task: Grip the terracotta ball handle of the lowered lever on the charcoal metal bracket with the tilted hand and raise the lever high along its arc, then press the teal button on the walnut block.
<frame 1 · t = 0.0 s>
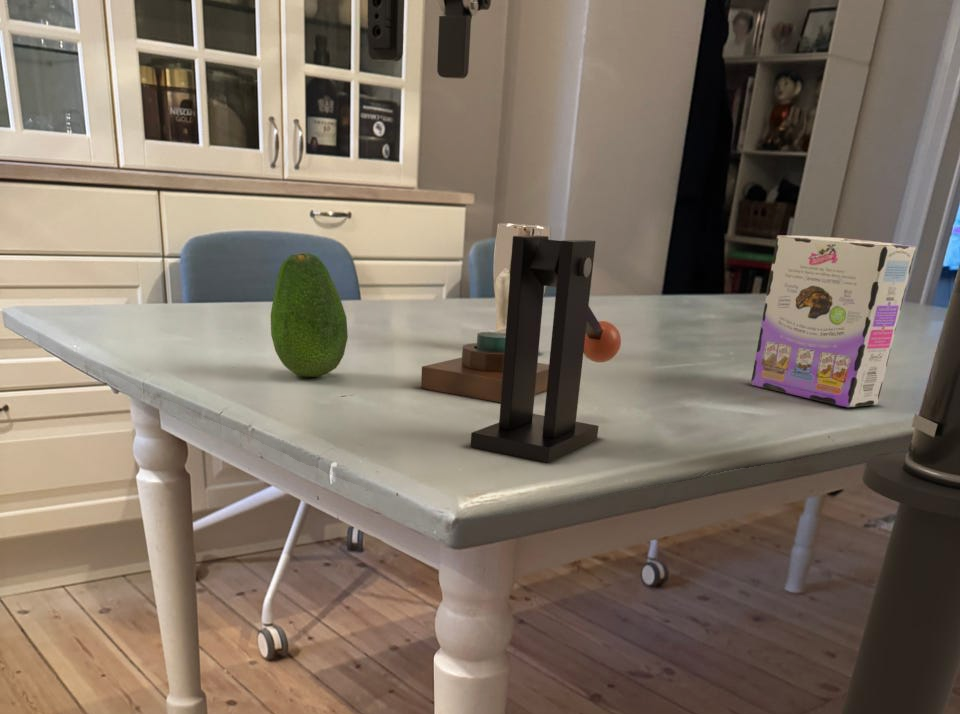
hand: (420, 69, 63), 26 cm above the table, tool pointing down, fingers open, 8 cm apart
bracket: (535, 443, 78), on the table
button: (494, 343, 96), point 4 cm above the table, slide at 0.1 cm
beer glass: (514, 353, 120), on the table
lever: (579, 307, 78), point 10 cm above the table, hinge at -30.0°
candy box: (810, 396, 106), on the table
avocado: (310, 379, 97), on the table
button block: (491, 387, 98), on the table
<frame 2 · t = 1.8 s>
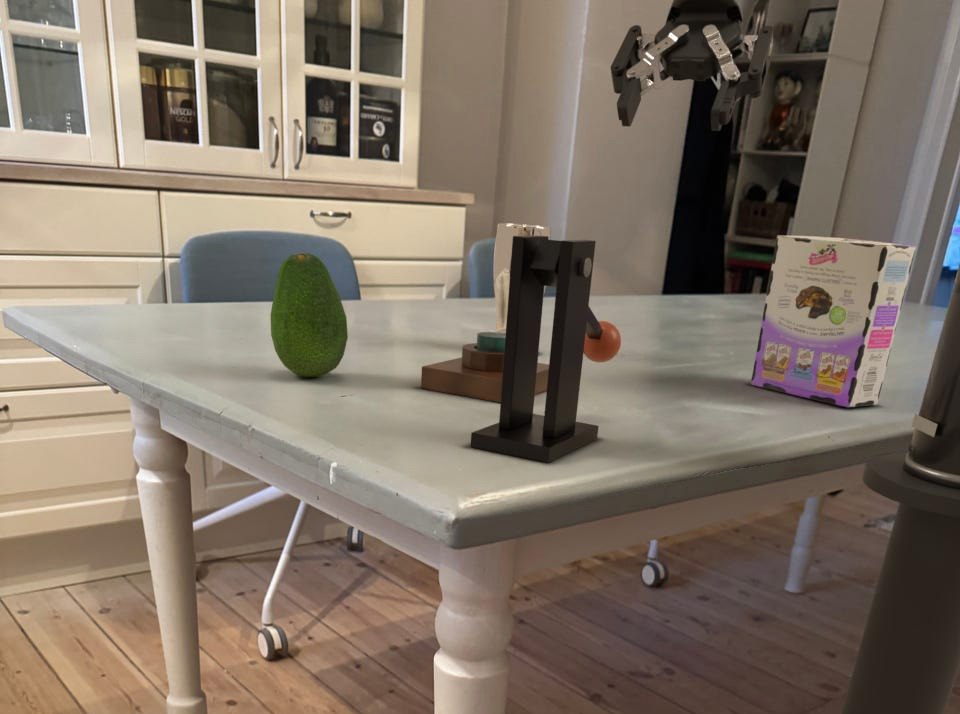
hand: (669, 120, 85), 25 cm above the table, tool tilted 45°, fingers open, 8 cm apart
nothing on the table moved.
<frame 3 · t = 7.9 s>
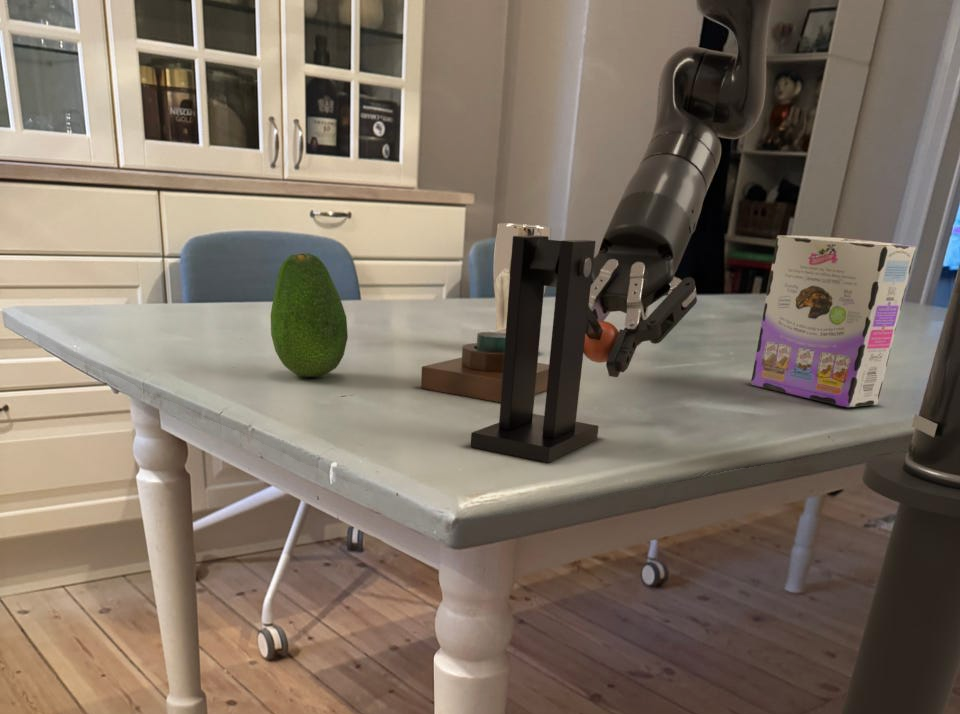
hand: (590, 367, 84), 5 cm above the table, tool tilted 45°, fingers closed on lever, 3 cm apart
lever: (579, 307, 78), point 10 cm above the table, hinge at -30.1°, touching gripper
everything else where it was.
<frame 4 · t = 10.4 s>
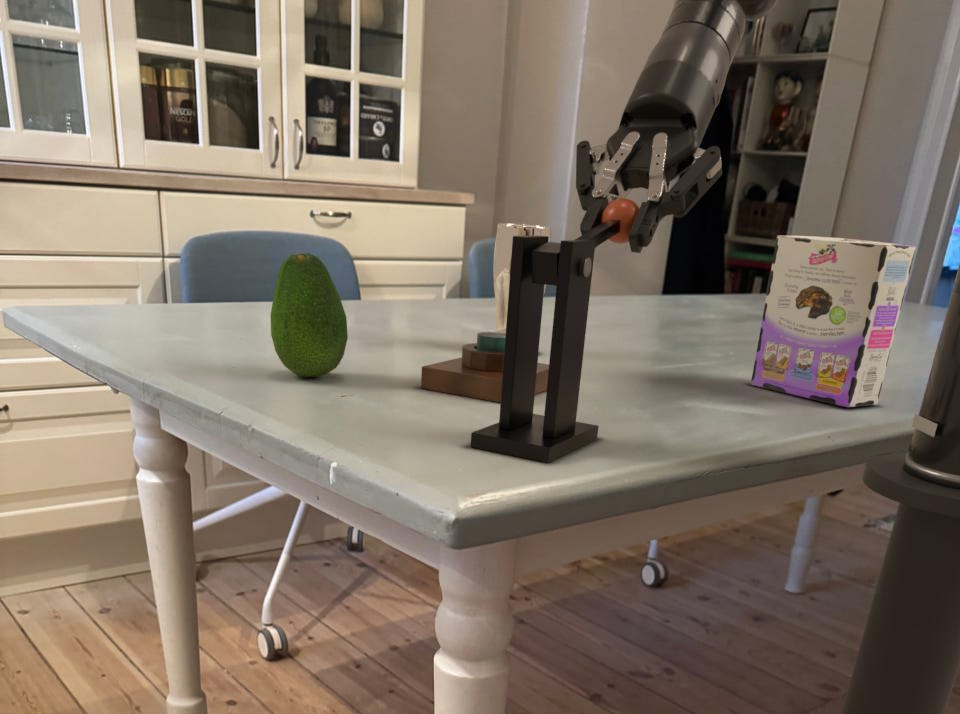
hand: (611, 242, 80), 15 cm above the table, tool tilted 45°, fingers closed on lever, 3 cm apart
lever: (590, 240, 76), point 16 cm above the table, hinge at 12.6°, touching gripper
everything else where it was.
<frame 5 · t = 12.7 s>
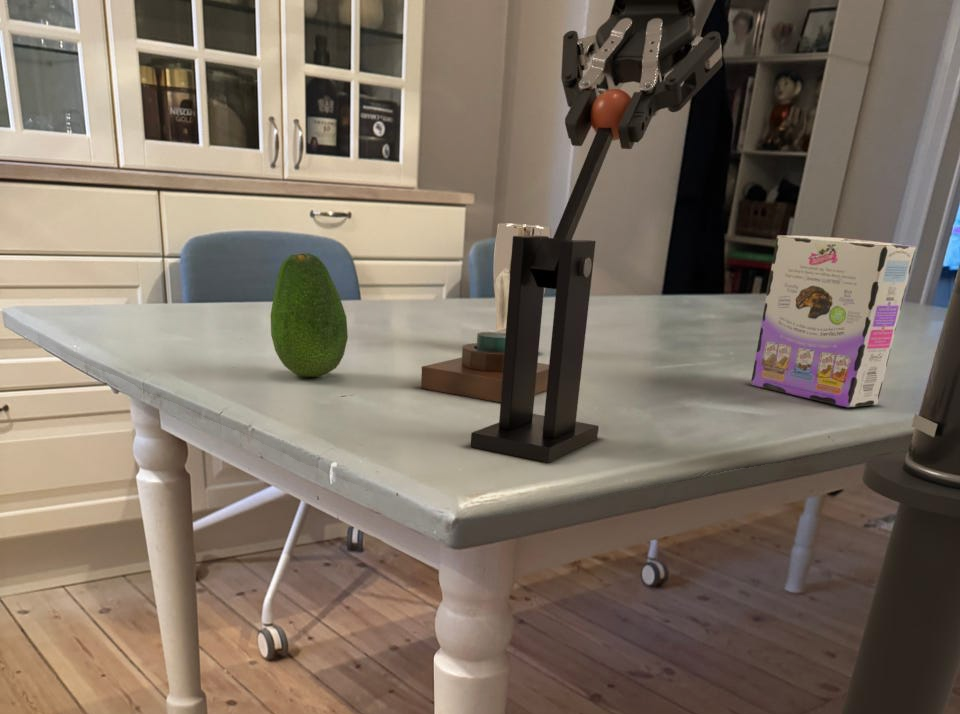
hand: (599, 137, 73), 23 cm above the table, tool tilted 45°, fingers closed on lever, 3 cm apart
lever: (584, 186, 73), point 20 cm above the table, hinge at 50.2°, touching gripper
everything else where it was.
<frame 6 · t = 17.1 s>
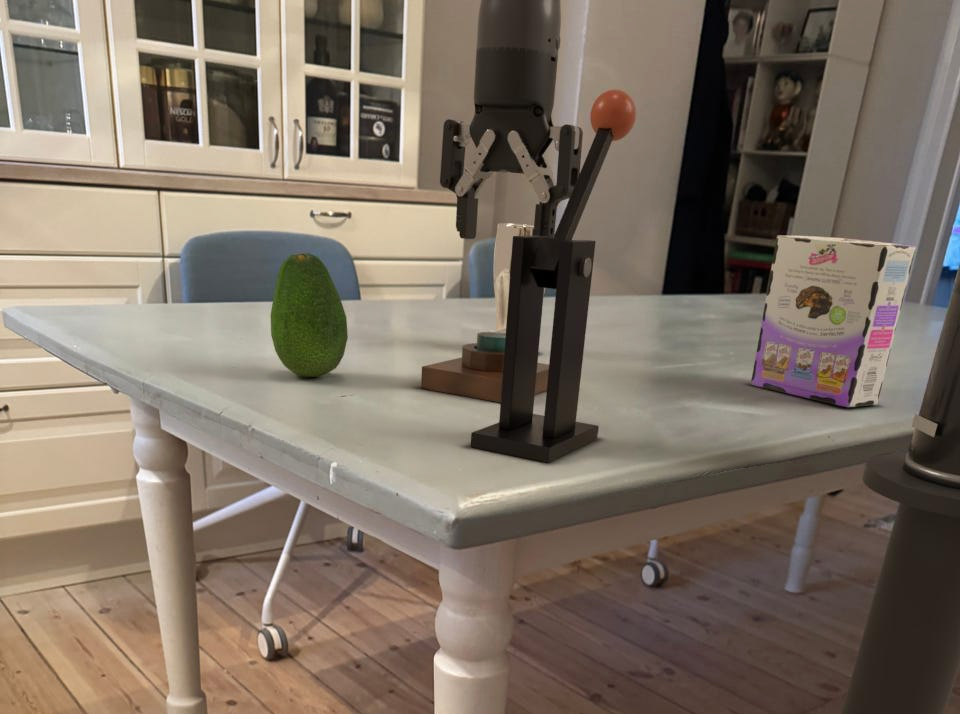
hand: (503, 242, 92), 14 cm above the table, tool pointing down, fingers open, 8 cm apart
lever: (584, 186, 73), point 20 cm above the table, hinge at 50.0°
everything else where it was.
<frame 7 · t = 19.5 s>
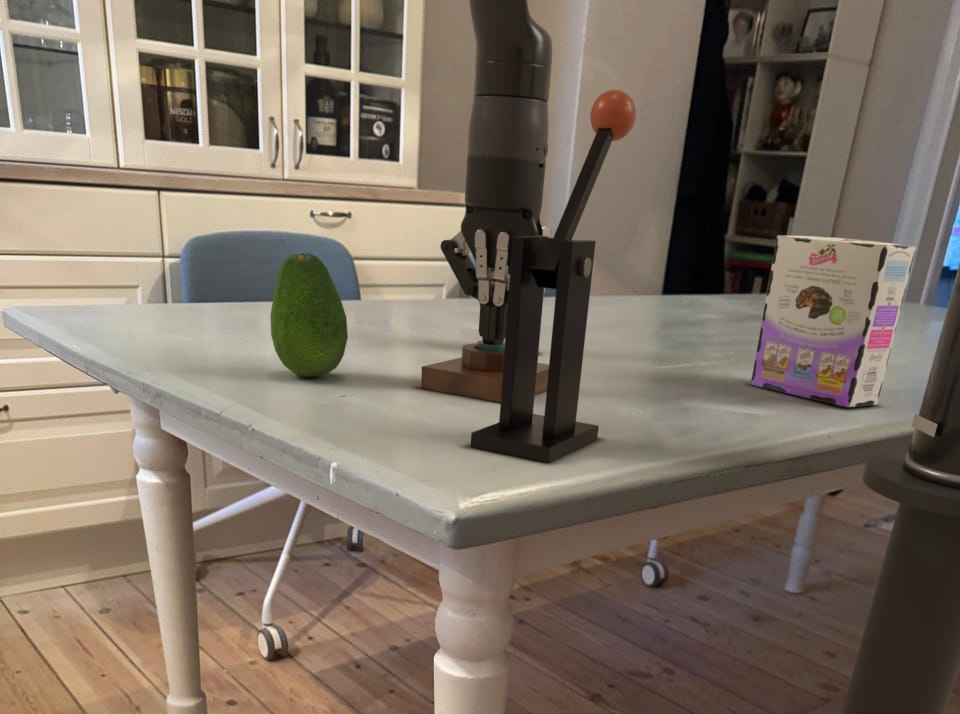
hand: (493, 343, 96), 5 cm above the table, tool pointing down, fingers closed
button: (493, 351, 96), point 4 cm above the table, slide at -0.7 cm, touching gripper
everything else where it was.
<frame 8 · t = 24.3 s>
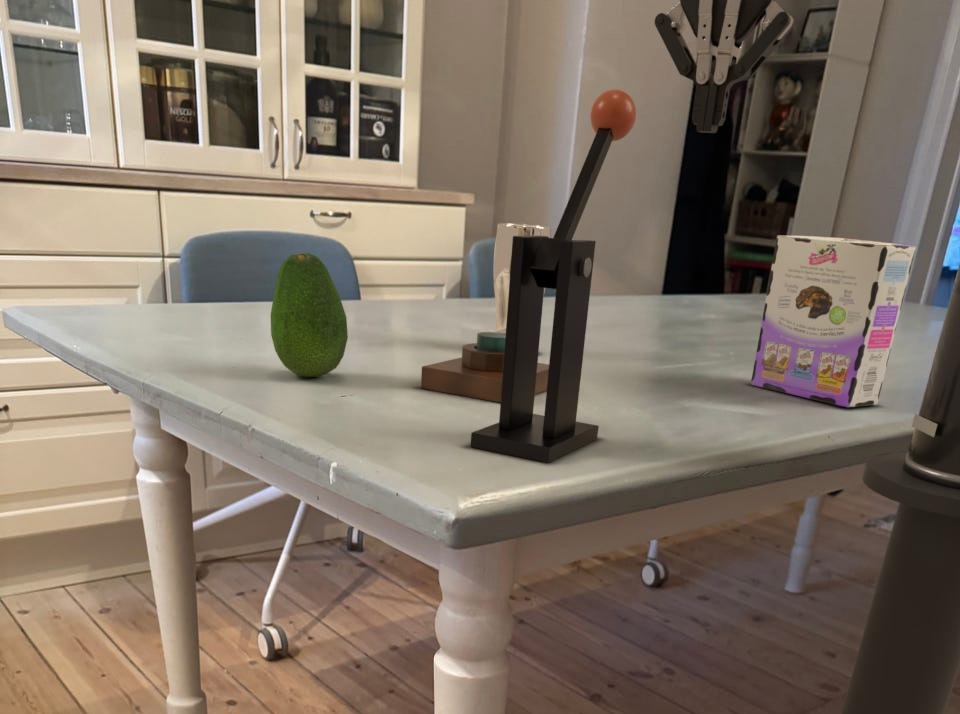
hand: (706, 131, 88), 25 cm above the table, tool pointing down, fingers closed
button: (494, 343, 96), point 4 cm above the table, slide at 0.1 cm
everything else where it was.
at the end: lever at +50° (first picture: -30°); button pushed in 1.1 cm at the most during the clip, back to where it started at the end; button slide at 0.1 cm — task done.
